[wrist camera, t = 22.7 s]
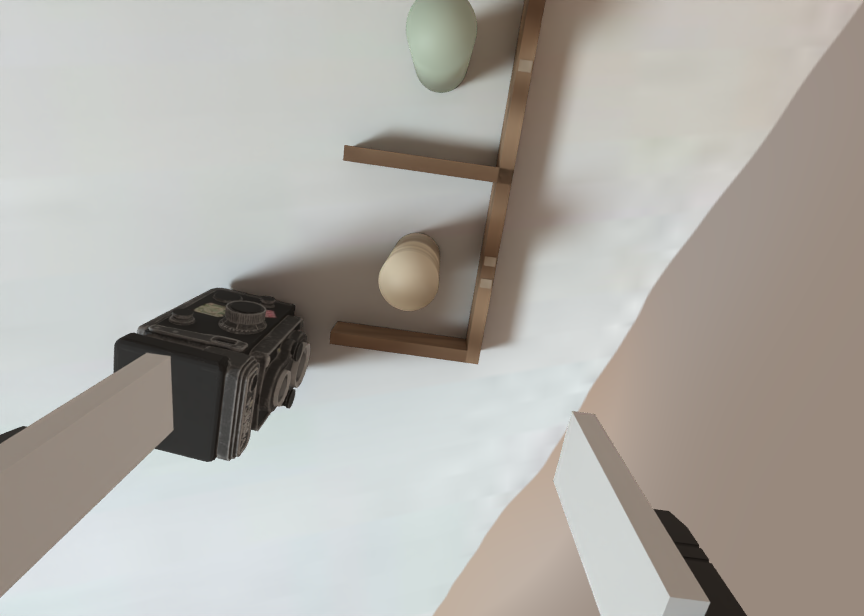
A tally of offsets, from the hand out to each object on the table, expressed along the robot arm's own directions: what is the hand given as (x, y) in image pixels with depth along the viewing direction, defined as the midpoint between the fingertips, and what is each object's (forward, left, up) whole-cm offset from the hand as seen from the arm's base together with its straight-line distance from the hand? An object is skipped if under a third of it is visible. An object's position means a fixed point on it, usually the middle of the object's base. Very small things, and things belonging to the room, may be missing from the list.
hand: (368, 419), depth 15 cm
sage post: (-16, 0, -29) cm, 33 cm away
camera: (+10, -14, -29) cm, 34 cm away
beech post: (0, 0, -29) cm, 29 cm away
